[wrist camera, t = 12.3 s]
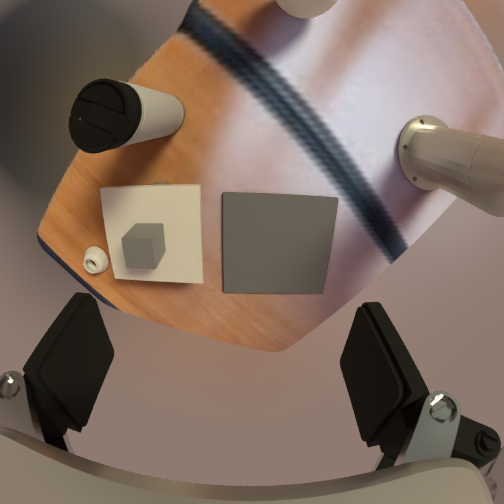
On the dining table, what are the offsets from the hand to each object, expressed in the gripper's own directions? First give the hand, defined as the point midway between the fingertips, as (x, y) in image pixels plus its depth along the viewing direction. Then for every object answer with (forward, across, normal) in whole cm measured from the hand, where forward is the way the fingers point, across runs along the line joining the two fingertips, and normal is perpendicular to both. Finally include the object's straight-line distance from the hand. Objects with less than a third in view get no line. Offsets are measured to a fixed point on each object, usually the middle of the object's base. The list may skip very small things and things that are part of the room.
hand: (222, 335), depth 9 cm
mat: (+32, -6, +12) cm, 35 cm away
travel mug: (+32, +11, -8) cm, 35 cm away
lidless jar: (+33, +26, +15) cm, 44 cm away
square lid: (+27, +12, +8) cm, 30 cm away
